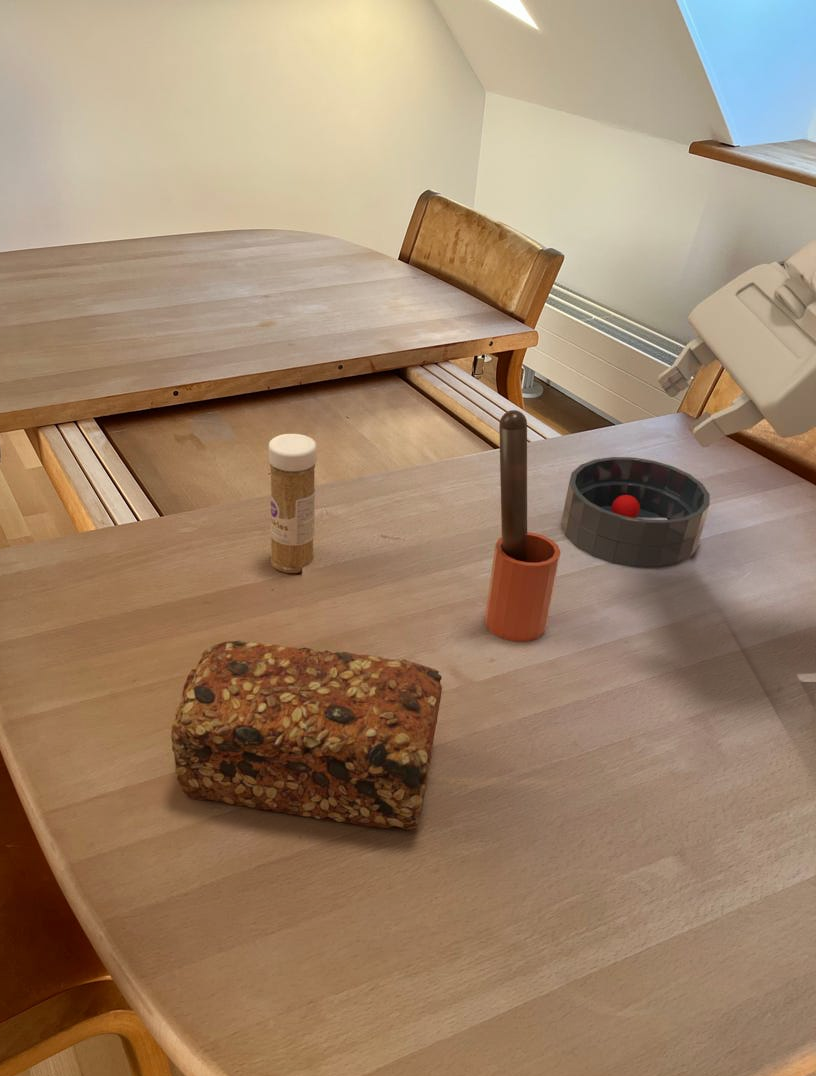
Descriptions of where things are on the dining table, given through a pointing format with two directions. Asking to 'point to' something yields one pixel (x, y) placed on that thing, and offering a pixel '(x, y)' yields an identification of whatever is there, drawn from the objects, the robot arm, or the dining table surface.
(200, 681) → the bread
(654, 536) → the bowl
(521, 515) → the stirring stick
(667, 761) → the dining table surface
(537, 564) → the crock
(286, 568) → the sprinkles bottle
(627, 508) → the berry
